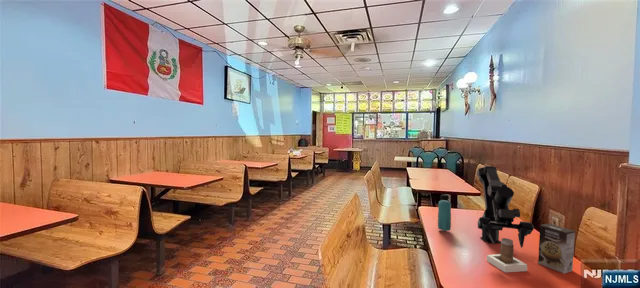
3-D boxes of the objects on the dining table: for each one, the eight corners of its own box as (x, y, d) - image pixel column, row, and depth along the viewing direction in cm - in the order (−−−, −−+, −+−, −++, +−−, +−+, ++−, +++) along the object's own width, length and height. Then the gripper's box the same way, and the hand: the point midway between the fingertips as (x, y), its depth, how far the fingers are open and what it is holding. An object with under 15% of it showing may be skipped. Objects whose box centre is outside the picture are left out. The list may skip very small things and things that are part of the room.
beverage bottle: (452, 234, 142) (453, 196, 141) (438, 233, 143) (439, 195, 142) (448, 229, 148) (450, 193, 147) (436, 228, 150) (437, 193, 149)
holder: (507, 259, 114) (507, 253, 114) (527, 271, 105) (527, 264, 104) (486, 260, 113) (486, 254, 113) (504, 272, 103) (505, 266, 103)
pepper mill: (503, 262, 111) (504, 237, 111) (514, 266, 108) (515, 240, 107) (497, 264, 109) (498, 239, 109) (509, 269, 106) (510, 243, 105)
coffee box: (537, 263, 111) (538, 224, 110) (546, 260, 113) (548, 222, 112) (564, 274, 102) (566, 232, 102) (573, 270, 105) (575, 230, 104)
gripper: (479, 198, 114) (484, 233, 105) (533, 202, 108) (543, 240, 98) (475, 211, 122) (479, 245, 112) (525, 216, 115) (534, 252, 106)
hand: (507, 245), depth 107 cm, fingers open, 9 cm apart
